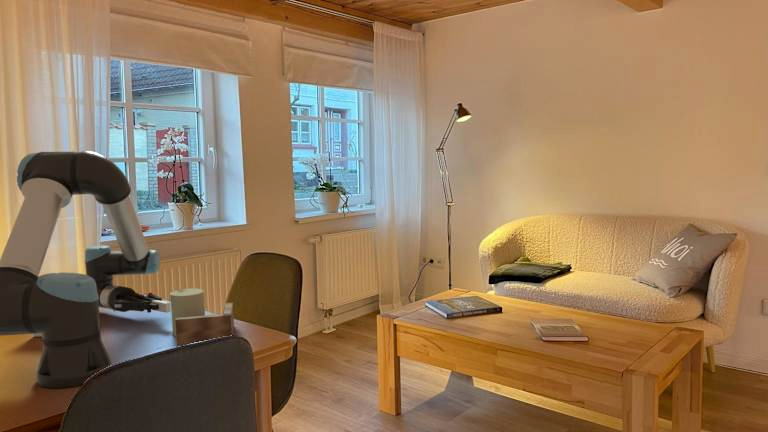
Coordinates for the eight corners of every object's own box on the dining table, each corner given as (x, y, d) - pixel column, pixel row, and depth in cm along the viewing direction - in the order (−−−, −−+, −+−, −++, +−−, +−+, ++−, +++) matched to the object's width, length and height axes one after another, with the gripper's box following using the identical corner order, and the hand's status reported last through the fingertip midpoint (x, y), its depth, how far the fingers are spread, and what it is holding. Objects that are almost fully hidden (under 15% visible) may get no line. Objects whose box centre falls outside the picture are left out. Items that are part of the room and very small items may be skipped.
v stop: (173, 345, 156) (171, 319, 155) (230, 325, 172) (229, 302, 172) (202, 351, 150) (200, 324, 149) (258, 331, 166) (257, 306, 165)
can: (192, 325, 174) (190, 285, 172) (213, 330, 168) (211, 288, 167) (165, 333, 166) (162, 291, 165) (185, 339, 161) (183, 295, 160)
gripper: (138, 305, 190) (187, 314, 177) (100, 315, 179) (149, 325, 166) (137, 282, 189) (185, 290, 176) (98, 291, 178) (147, 299, 165)
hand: (168, 307), depth 171 cm, fingers closed
